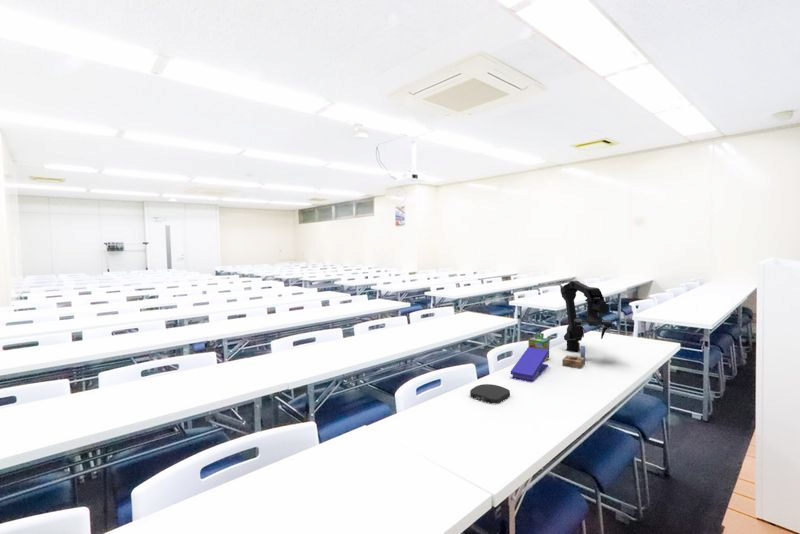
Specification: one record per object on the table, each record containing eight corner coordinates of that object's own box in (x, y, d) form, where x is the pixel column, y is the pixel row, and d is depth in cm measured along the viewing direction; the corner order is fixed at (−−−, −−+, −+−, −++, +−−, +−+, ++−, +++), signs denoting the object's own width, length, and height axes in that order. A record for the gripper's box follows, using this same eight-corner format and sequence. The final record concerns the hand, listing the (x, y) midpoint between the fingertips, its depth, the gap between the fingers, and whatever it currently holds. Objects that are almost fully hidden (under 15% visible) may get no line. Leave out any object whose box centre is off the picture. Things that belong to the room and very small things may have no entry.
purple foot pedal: (549, 367, 208) (549, 349, 207) (533, 383, 185) (533, 363, 184) (527, 363, 215) (527, 346, 214) (510, 378, 192) (510, 359, 191)
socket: (562, 365, 208) (562, 359, 208) (567, 361, 215) (567, 355, 215) (580, 368, 203) (580, 362, 203) (584, 364, 210) (584, 357, 210)
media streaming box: (513, 395, 171) (513, 389, 171) (496, 406, 161) (495, 399, 161) (484, 387, 181) (484, 381, 181) (466, 397, 171) (466, 390, 171)
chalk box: (527, 359, 221) (527, 333, 220) (534, 355, 228) (534, 330, 227) (543, 362, 215) (543, 336, 214) (549, 358, 222) (549, 332, 221)
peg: (579, 360, 216) (579, 346, 216) (581, 359, 218) (581, 345, 218) (584, 361, 215) (584, 347, 214) (585, 360, 217) (585, 346, 216)
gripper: (574, 312, 211) (574, 340, 212) (613, 314, 204) (613, 343, 205) (574, 308, 221) (574, 335, 223) (611, 310, 214) (610, 338, 215)
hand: (592, 338), depth 216 cm, fingers open, 9 cm apart
